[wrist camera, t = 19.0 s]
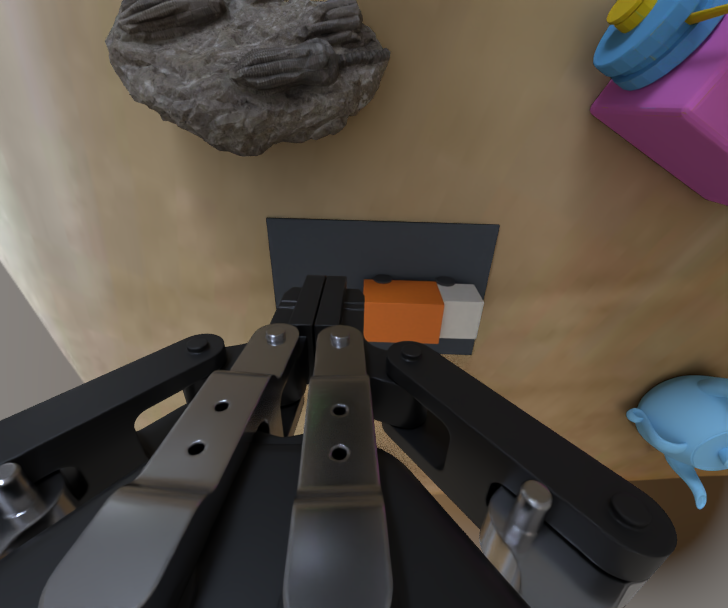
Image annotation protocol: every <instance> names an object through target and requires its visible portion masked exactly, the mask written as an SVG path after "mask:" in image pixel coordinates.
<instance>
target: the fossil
mask: <svg viewBox="0 0 728 608" xmlns="http://www.w3.org/2000/svg"><path fill="white" fill-rule="evenodd" d="M105 43H106V45H107V47H108V50H109V59H110V63H111V65H112V67H113V68H114V70H115V72H116V74H117V75H118V76H119V78H120V79H121V81H122V83H123V84H124V86H125V87H126V89H127V90H128V91H129V93H130V94H129V95H131V96H132V98H133V99H134V101H136V102H139V103H142V104H145V105H147V106H148V107H149V108H150V109H153V110H155V111H156V112H158V113H159V114H160V116H161V118H162V120H163V121H169V122H172V123H174V124H177V126H178V127H180V128H182V129H185V130H187V131H189V132H191V133H193V134H195V135H197V136H199V137H200V138H202V139H204V141H205V142H207V143H209V144H210V145H211V146H213V147H214V148H216V149H217V150H219V151H228V152H231V153H234V154H236V155H239V156H242V157H243V156H258V155H260V154H263V153H264V152H265V151H266V150H267V149H269V148H270V147H271V146H272V145H273V144H278V143H280V142H291V143H303V142H305V141H307V140H309V139H314V140H318V139H320V138H322V137H325V136H327V135H328V134H332V135H335V134H336V133H338V132H339V131H341V130H342V129H343V128H344V127H345V125H346V123H347V118H348V117H349V116H354V115H357V113H358V112H359V111H360V110H361V109H362V108H363V107H365V106H366V105H367V104H368V103H369V102H370V101H371V100H372V98H373V96H374V94H375V92H376V91H377V89H378V87H379V84H380V81H381V78H382V76H383V73H384V71H385V69H386V67H387V64H388V61H389V58H390V51H389V50H388V49H387V48H384V49H383V47H382V46H381V44H380V42H379V41H378V40H377V39H376V35H375V33H374V32H373V31H372V30H371V29H370V28H369V27H368V26H366V25H364V24H363V23H362V15H361V11H360V9H359V7H358V4H357V2H356V0H328V1H326V2H316V1H310V0H289V1H288V2H284V1H283V0H123V1H122V3H121V6H120V9H119V13H118V15H117V17H116V19H115V22H114V25H113V27H112V29H111V31H110V33H109V35H108V37H107V38H106V40H105Z"/></svg>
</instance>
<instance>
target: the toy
mask: <svg viewBox="0 0 728 608" xmlns="http://www.w3.org/2000/svg"><path fill="white" fill-rule="evenodd" d="M607 22H608V23H609V24H610V26H609V27H608V29H607V30H606V32H605V33H604V35H603V37H602V38H601V40H600V42H599V44H598V46H597V48H596V51H595V54H594V59H593V64H594V66H595V67H596V68H597V69H598V70H599V71H600V72H602V73H603V74H604V75H605V76H608V77H611V80H610V82H609V83H608V84H607V86H606V87H605V88H604V90H603V91H602V92H601V94H600V95H599V96H598V98H597V99H596V100H595V101H594V103H593V104H592V106H591V108H590V112H591V114H592V115H594V116H595V117H596V118H598V119H599V120H600V121H602V122H603V123H604V124H606V125H607V126H608V127H610V128H611V129H612V130H614V131H615V132H616V133H618V134H619V135H620V136H622V137H623V138H624V139H626V140H627V141H628V142H630V143H631V144H632V145H634V146H635V147H636V148H638V149H639V150H640V151H642V152H643V153H644V154H646V155H647V156H648V157H650V158H651V159H652V160H654V161H655V162H656V163H658V164H659V165H660V166H662V167H663V168H664V169H666V170H667V171H668V172H670V173H671V174H672V175H674V176H675V177H676V178H678V179H679V180H680V181H682V182H683V183H685V184H686V185H687V186H689V187H690V188H691V189H693V190H694V191H695V192H697V193H698V194H699V195H701V196H702V197H703V198H705V199H706V200H710V201H713V202H717V203H720V204H724V205H727V206H728V0H618V1H617V2H616V3H615V5H614V6H613V7H612V9H611V10H610V12H609V14H608V16H607Z"/></svg>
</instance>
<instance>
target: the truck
mask: <svg viewBox="0 0 728 608" xmlns="http://www.w3.org/2000/svg"><path fill="white" fill-rule="evenodd" d="M363 294H364V295H365V305H364V338H365V339H366V340H367V341H368V342H395V343H397V342H401V341H415V342H419V343H426V344H438V343H439V338H457V339H476V337H477V332H478V328H479V323H480V319H481V314H482V310H483V305H484V301H483V300H482V298H481V296H480V294H479V293H478V291H477V289H476V287H475V286H474V284H455V280H454V279H453V278H451V277H447V276H441V277H438V278H437V279H436V281H404V280H392V278H391V277H390V276H388V275H383V274H380V275H376V276H374V278H373V280H372V279H364V288H363Z"/></svg>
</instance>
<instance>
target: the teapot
mask: <svg viewBox="0 0 728 608" xmlns="http://www.w3.org/2000/svg"><path fill="white" fill-rule="evenodd" d="M626 416H627V418H628V419H629V420H630V421H632V422H634V423H635V424H636V428H637V430H638V432H639V433H640V435H641V436H642V437H643V438H644V439H645V440H646V441H647V442H648V443H649V444H651V445H652V446H653V447H655V448H656V449H657V450H659V451H660V452H662V453H664V455H665V458H666V460H667V462H668V464H669V465H670V466H671V468H672V469H673V470H674V471H675V472H676V473H677V474H678V475H679V476H680V477H681V478H682V479H683V480H684V481H685V482H686V484H687V485H688V486H689V488H690V489H691V491H692V492H693V495H694V498H695V502H696V506H697V508H698V509H701V508H703V507H704V505H705V503H706V492H705V489H704V487H703V485H702V483H701V481H700V479H699V477H698V476H697V474H696V472H695V469H694V467H695V468H698V469H702V470H708V471H717V470H724V469H728V379H726V378H719V377H710V376H700V375H688V376H680V377H676V378H672V379H669V380H667V381H664V382H662V383H660V384H658V385H657V386H655V387H654V388H652V389H651V390H650V391H648V392H647V393H646V394H645V395H644V396H643V398H642V399H641V401H640V402H639V404H638V407H637V408H632V409H630V410H628V411H627V413H626Z"/></svg>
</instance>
